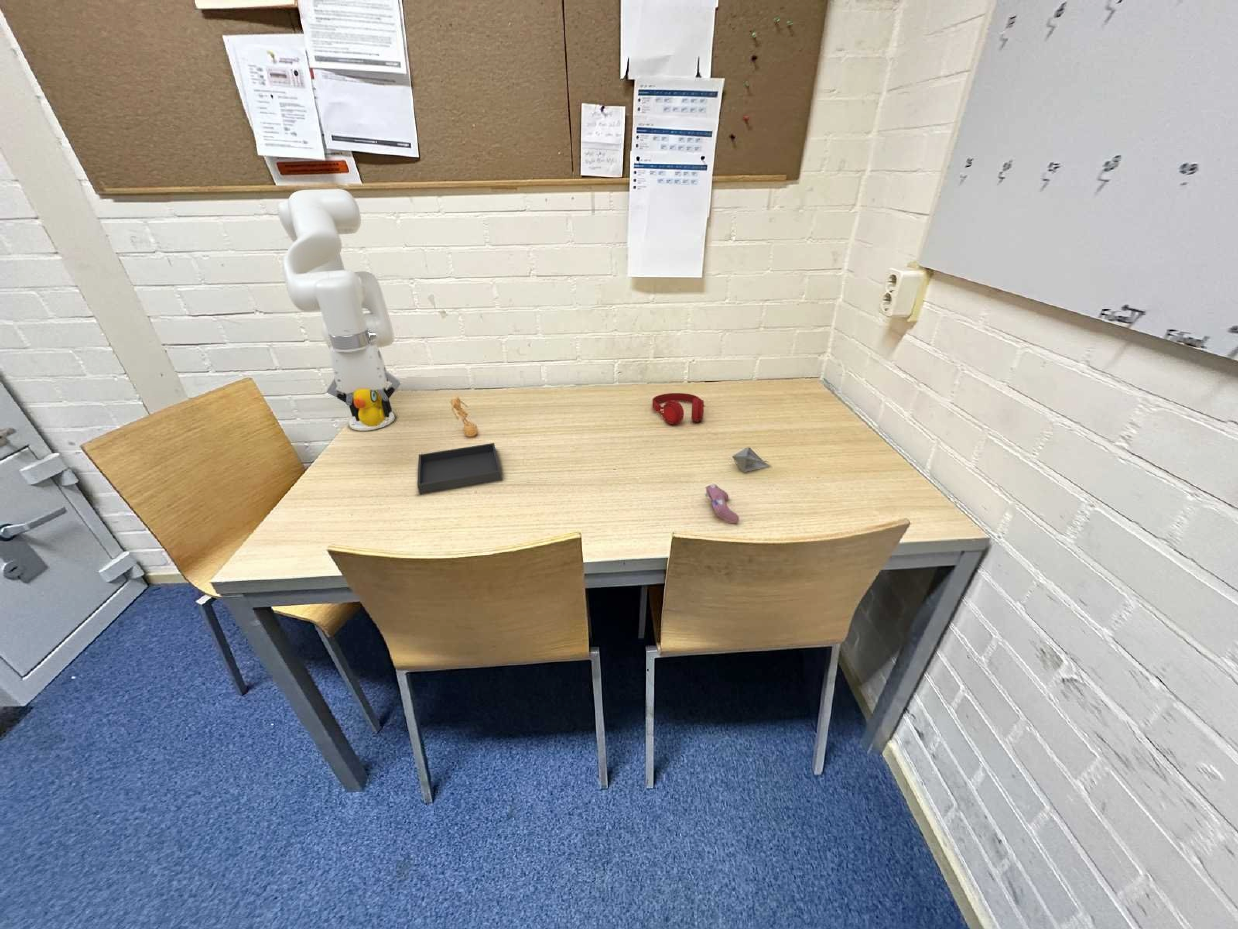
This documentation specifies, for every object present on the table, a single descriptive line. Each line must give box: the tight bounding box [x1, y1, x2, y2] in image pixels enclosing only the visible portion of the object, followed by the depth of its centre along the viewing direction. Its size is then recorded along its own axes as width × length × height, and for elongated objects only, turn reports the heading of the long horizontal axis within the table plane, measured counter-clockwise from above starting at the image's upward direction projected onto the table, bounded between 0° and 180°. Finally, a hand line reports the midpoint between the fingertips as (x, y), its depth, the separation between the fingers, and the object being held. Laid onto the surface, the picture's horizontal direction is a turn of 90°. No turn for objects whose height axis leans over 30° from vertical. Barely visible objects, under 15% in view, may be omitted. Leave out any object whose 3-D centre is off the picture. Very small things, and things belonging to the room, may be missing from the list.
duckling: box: [353, 389, 386, 427], centre depth 112 cm, size 11×5×10 cm, turn 4°
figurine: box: [449, 396, 478, 438], centre depth 138 cm, size 8×6×12 cm
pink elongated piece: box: [704, 483, 740, 524], centre depth 108 cm, size 10×5×7 cm, turn 5°
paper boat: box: [731, 446, 769, 473], centre depth 122 cm, size 12×6×9 cm
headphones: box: [651, 392, 706, 425], centre depth 152 cm, size 15×7×20 cm
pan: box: [416, 442, 503, 496], centre depth 124 cm, size 15×19×3 cm
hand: (373, 416), depth 114 cm, fingers closed on duckling, 5 cm apart
